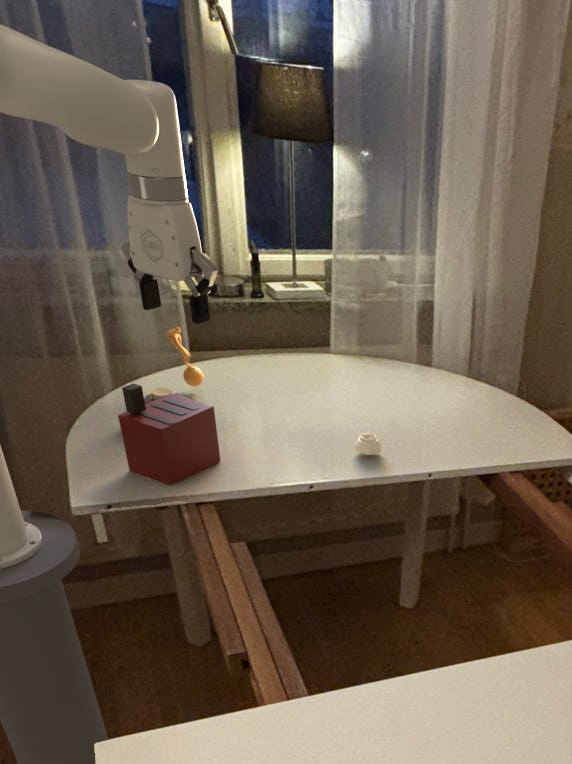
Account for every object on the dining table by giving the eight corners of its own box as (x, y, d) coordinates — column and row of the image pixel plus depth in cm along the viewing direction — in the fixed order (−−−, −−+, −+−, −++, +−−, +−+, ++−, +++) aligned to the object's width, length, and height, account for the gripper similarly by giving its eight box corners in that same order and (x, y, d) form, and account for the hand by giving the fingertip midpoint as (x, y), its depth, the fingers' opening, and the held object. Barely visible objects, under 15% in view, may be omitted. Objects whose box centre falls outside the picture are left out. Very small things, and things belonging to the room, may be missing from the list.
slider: (135, 414, 122) (130, 390, 120) (126, 411, 123) (121, 387, 120) (146, 410, 124) (141, 385, 122) (137, 407, 125) (133, 383, 122)
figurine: (208, 392, 158) (201, 331, 151) (178, 394, 155) (169, 332, 148) (200, 378, 163) (193, 320, 156) (170, 380, 161) (162, 321, 154)
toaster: (171, 486, 126) (161, 428, 120) (129, 472, 128) (117, 414, 122) (220, 461, 135) (213, 405, 128) (180, 447, 137) (171, 392, 131)
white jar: (356, 444, 145) (352, 455, 141) (356, 429, 144) (352, 439, 139) (382, 447, 145) (379, 457, 141) (383, 432, 144) (379, 442, 140)
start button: (164, 406, 142) (163, 397, 141) (148, 401, 143) (146, 391, 142) (180, 399, 145) (178, 390, 144) (163, 394, 146) (162, 385, 145)
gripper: (91, 180, 108) (115, 308, 118) (187, 202, 103) (203, 333, 113) (132, 176, 113) (151, 298, 124) (225, 196, 108) (237, 321, 119)
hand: (176, 314), depth 118 cm, fingers open, 9 cm apart
